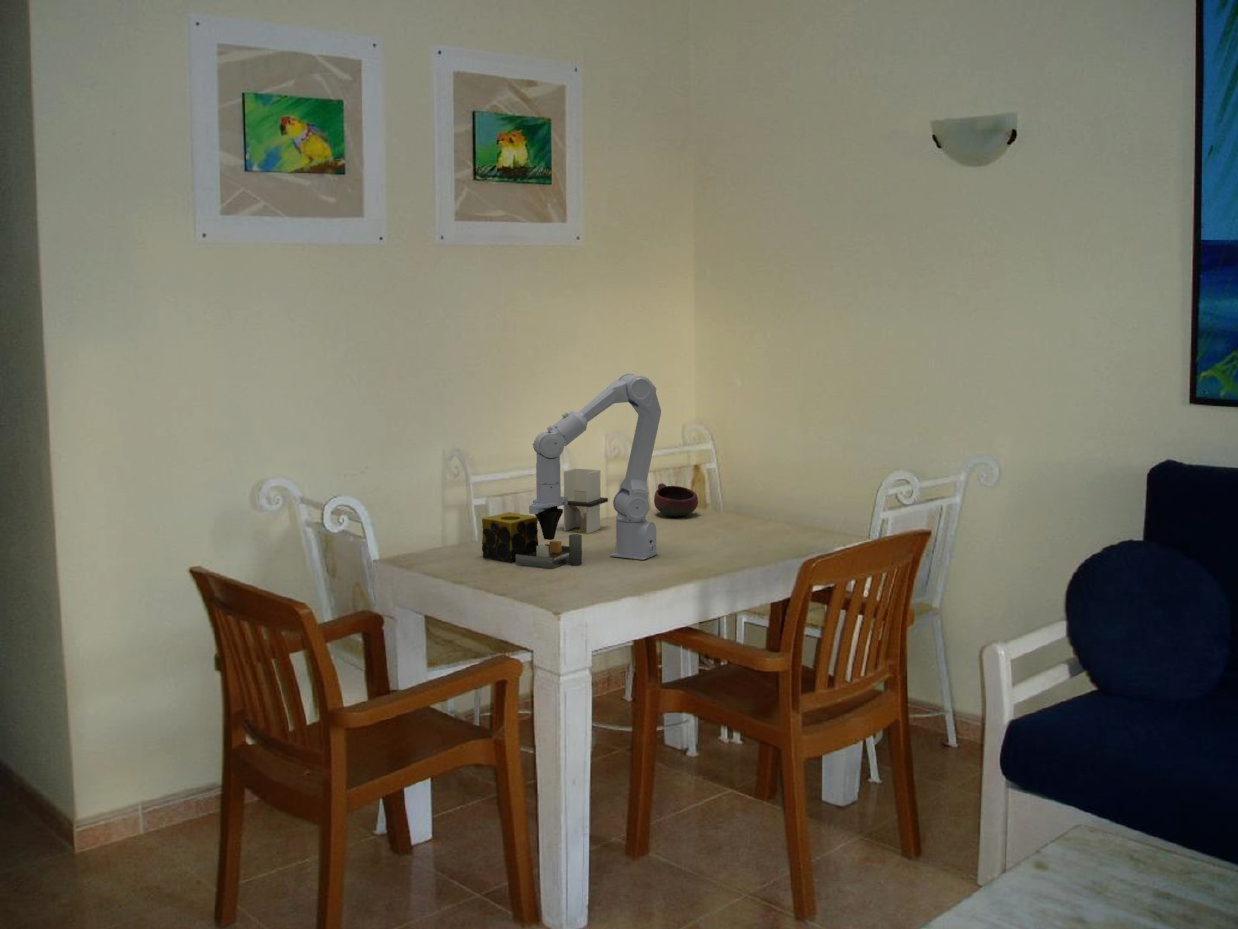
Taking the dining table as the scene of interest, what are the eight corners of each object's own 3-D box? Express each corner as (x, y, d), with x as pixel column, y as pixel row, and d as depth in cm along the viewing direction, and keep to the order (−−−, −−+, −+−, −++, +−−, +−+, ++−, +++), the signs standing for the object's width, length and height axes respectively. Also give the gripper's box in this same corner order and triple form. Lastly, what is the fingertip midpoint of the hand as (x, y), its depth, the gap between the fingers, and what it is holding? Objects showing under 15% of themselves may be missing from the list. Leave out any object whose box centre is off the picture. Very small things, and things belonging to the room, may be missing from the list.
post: (584, 563, 304) (583, 534, 303) (577, 566, 302) (577, 537, 301) (573, 562, 306) (572, 533, 305) (566, 565, 303) (566, 535, 302)
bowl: (707, 515, 368) (707, 487, 366) (680, 521, 358) (680, 493, 357) (662, 509, 378) (662, 482, 376) (635, 515, 368) (635, 487, 367)
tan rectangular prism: (561, 551, 310) (561, 541, 309) (558, 552, 308) (558, 542, 308) (553, 550, 311) (552, 540, 310) (549, 551, 309) (549, 541, 309)
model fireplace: (518, 535, 341) (517, 474, 339) (563, 519, 362) (563, 462, 360) (601, 543, 330) (601, 480, 327) (643, 527, 351) (643, 468, 349)
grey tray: (581, 557, 311) (581, 547, 310) (552, 569, 299) (552, 558, 298) (546, 553, 315) (546, 543, 315) (515, 564, 303) (515, 554, 303)
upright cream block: (548, 556, 304) (548, 545, 304) (545, 557, 303) (545, 547, 302) (540, 555, 305) (539, 544, 305) (536, 556, 304) (536, 546, 304)
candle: (510, 551, 319) (509, 511, 318) (540, 556, 313) (539, 516, 311) (480, 558, 311) (480, 517, 310) (511, 563, 305) (510, 522, 304)
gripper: (549, 477, 313) (550, 532, 314) (517, 485, 300) (518, 542, 302) (574, 479, 309) (575, 535, 311) (543, 488, 297) (544, 545, 298)
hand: (549, 539), depth 306 cm, fingers closed
